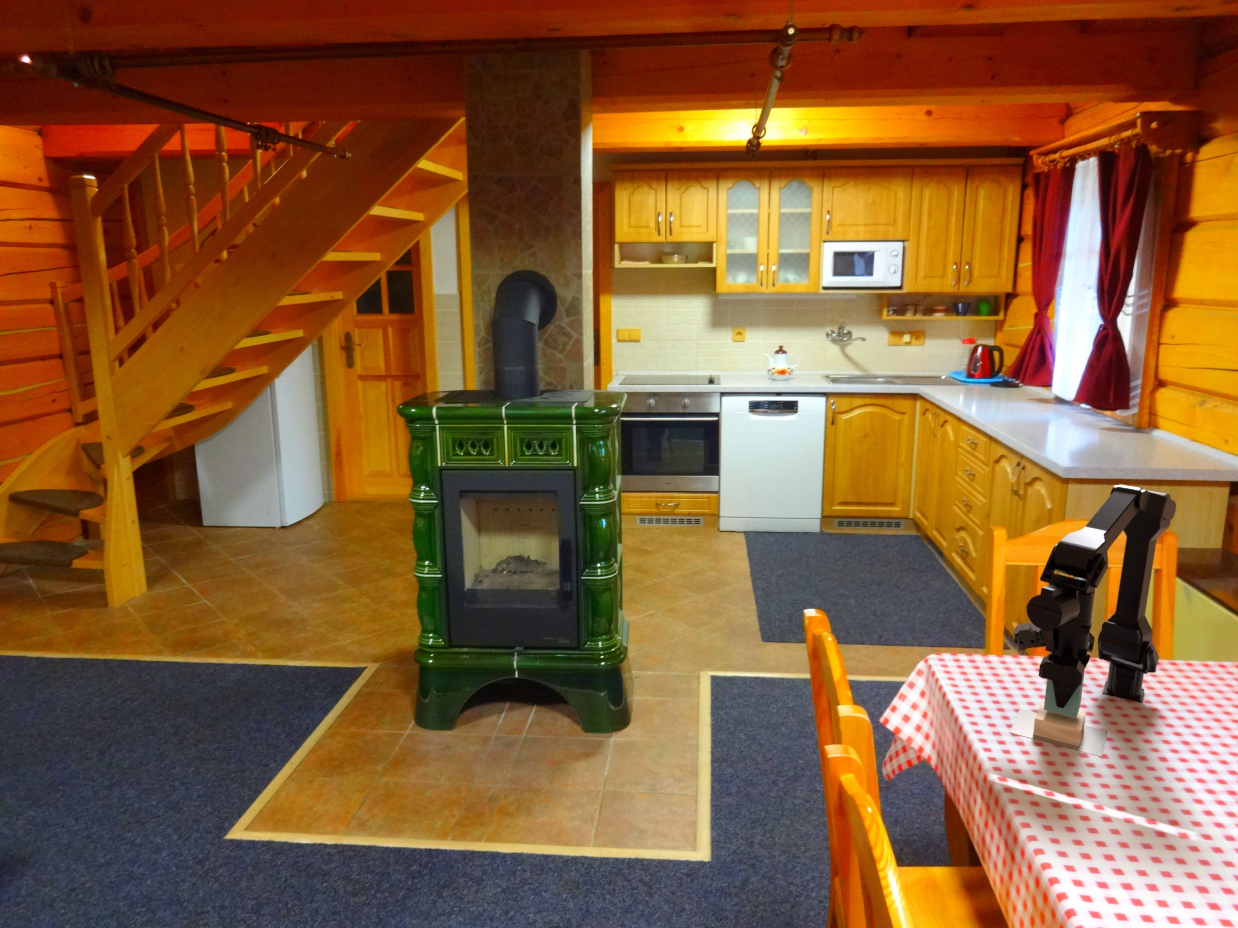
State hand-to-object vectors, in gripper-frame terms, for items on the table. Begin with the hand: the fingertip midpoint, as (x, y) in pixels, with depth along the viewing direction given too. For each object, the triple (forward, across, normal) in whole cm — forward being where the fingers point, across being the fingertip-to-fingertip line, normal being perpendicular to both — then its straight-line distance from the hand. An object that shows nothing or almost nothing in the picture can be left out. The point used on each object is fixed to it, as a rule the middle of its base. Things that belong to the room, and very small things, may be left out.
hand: (1062, 700), depth 149 cm
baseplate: (+6, 0, 0) cm, 6 cm away
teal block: (+1, 0, 0) cm, 1 cm away
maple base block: (+6, 0, 0) cm, 6 cm away
